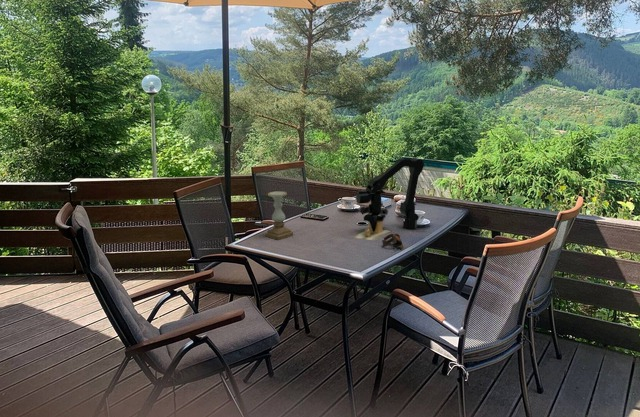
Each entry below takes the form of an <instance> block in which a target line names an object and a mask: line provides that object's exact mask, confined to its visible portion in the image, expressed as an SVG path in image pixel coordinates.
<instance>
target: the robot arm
mask: <svg viewBox="0 0 640 417" xmlns="http://www.w3.org/2000/svg"><path fill="white" fill-rule="evenodd" d="M404 167H408V170H409V177H408V183H407V187H406V194H405V199H404V201H403V202H400V207H399V212H400V214H401V215H402V216H403V218H404V219H403V222H402V223H403V229H406V230H417V229H418V220H419V219H420V218H419V217H420V216H419V215H418V214H417V213H416V207H415V206H416V205H415V198H416V192H417V188H418V181H419V178H420V175H421V173H422V172H423V170H424V167H425V162H424V161H423V160H422V159H420V158H417V157H412V158H411V159H409V158H402V157H400V158H399V159H397V160H396V161H395V162H394V163H393V164H392V165H391V166H389V167H388V168H387V169H386V170H384V171H383V172H381V173H380V174H378V175H376V176H374V177H372V178H371V179H370V180H369V183H368V184H367V187H365V189H364V190H357V194H356V196H355V200H356V203H357V204H368V206H360V208H359V213H360V214H361V216H362V215H364V216H363V221H364V222H368V223H369V222H370V225H371V228H372V231H373V232H375V229H376V226H377V223H378V221H383V222H384V219H385V218H386V216H387V215H388V213H389V210H388V209H387V208H382V206H383V205H384V203H382V195H383V194H386V191H384V190H383V188H384V187H385V185H387V182H388V180H390V178H392V177H393V176H395V175H396V174H397V173H398V172H400V170H402V169H403V168H404Z"/></svg>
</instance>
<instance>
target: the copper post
mask: <svg viewBox="0 0 640 417" xmlns="http://www.w3.org/2000/svg"><path fill="white" fill-rule="evenodd" d="M364 231H365V237H370V229H368V228H365V229H364Z"/></svg>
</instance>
